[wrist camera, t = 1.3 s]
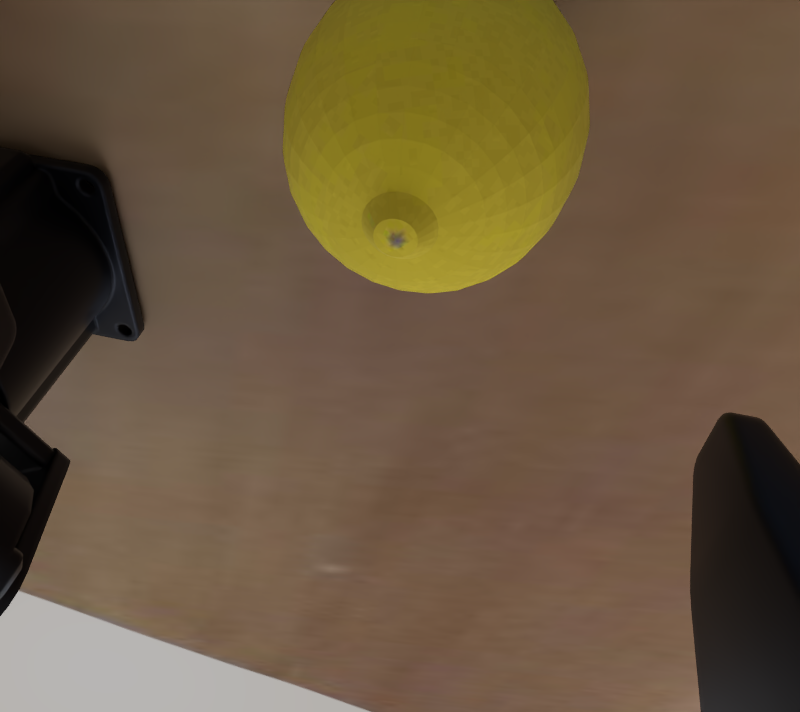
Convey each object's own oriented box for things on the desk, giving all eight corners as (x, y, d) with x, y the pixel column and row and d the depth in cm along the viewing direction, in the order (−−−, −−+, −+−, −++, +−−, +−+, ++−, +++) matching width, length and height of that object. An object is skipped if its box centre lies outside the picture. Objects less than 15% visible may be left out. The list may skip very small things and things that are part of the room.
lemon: (503, 194, 19) (459, 419, 13) (313, 82, 18) (177, 274, 12) (647, 0, 15) (674, 197, 9) (418, -156, 14) (293, -41, 8)
